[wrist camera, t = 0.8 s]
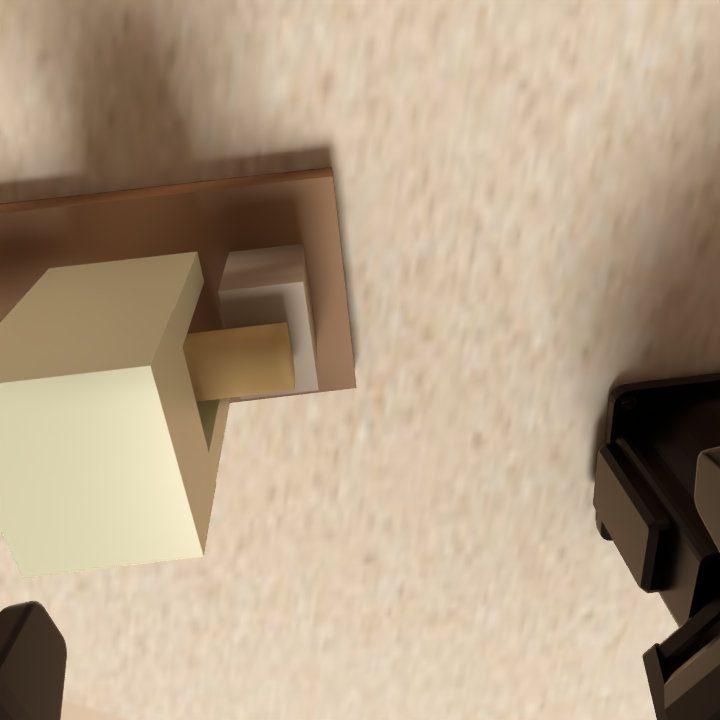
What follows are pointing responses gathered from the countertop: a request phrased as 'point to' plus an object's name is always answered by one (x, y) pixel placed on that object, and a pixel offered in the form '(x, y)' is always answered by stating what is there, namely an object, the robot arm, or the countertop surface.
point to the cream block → (105, 419)
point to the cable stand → (214, 272)
